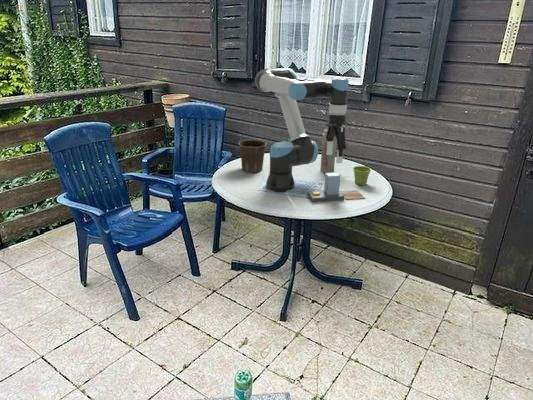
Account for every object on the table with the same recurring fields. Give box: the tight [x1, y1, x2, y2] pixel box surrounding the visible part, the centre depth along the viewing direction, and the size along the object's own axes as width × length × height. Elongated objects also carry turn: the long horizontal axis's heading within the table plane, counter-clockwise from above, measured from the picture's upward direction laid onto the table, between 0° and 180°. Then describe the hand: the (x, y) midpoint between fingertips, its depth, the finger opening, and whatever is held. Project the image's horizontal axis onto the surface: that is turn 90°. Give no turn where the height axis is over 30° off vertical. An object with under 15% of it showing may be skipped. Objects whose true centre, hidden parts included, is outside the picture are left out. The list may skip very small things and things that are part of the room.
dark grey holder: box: [306, 189, 345, 203], centre depth 194 cm, size 9×16×4 cm, turn 101°
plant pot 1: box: [238, 139, 268, 174], centre depth 231 cm, size 16×16×16 cm
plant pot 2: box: [352, 165, 372, 186], centre depth 213 cm, size 9×9×9 cm
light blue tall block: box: [323, 172, 341, 196], centre depth 193 cm, size 4×6×12 cm
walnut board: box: [339, 190, 366, 201], centre depth 197 cm, size 10×10×1 cm
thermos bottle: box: [319, 123, 337, 174], centre depth 228 cm, size 8×8×28 cm
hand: (334, 158), depth 187 cm, fingers open, 13 cm apart
